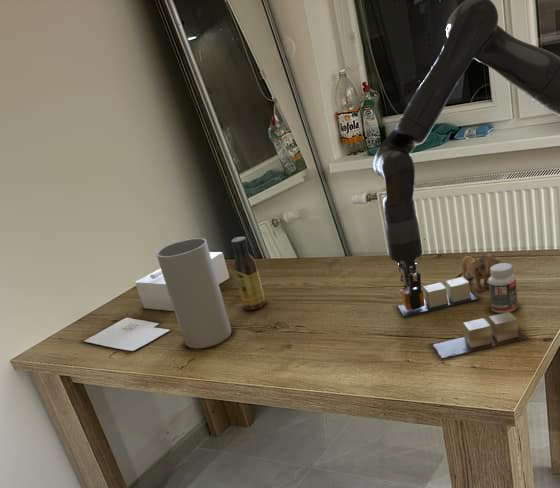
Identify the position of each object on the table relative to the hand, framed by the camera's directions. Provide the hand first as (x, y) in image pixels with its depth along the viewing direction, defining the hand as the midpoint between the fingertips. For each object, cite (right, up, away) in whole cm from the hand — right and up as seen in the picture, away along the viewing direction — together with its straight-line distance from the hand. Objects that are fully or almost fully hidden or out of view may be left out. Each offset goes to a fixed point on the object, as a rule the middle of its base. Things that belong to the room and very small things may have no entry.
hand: (413, 304), depth 163 cm
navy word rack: (+6, 0, 0) cm, 6 cm away
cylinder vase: (-50, -8, +13) cm, 53 cm away
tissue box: (-61, +9, +50) cm, 80 cm away
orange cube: (0, 0, 0) cm, 0 cm away
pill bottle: (+19, -2, -10) cm, 21 cm away
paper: (-75, -6, +29) cm, 80 cm away
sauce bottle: (-39, +2, +26) cm, 47 cm away
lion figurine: (+17, +5, +4) cm, 18 cm away
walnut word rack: (+9, -10, -22) cm, 26 cm away
